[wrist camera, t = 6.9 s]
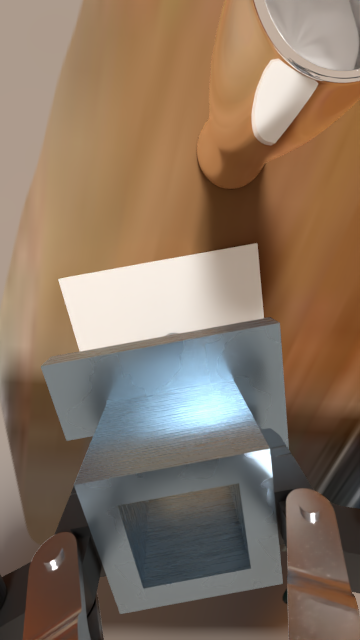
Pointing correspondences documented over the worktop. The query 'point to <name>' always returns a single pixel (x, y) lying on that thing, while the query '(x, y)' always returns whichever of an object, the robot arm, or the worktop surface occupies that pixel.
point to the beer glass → (276, 82)
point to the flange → (178, 459)
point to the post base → (164, 297)
